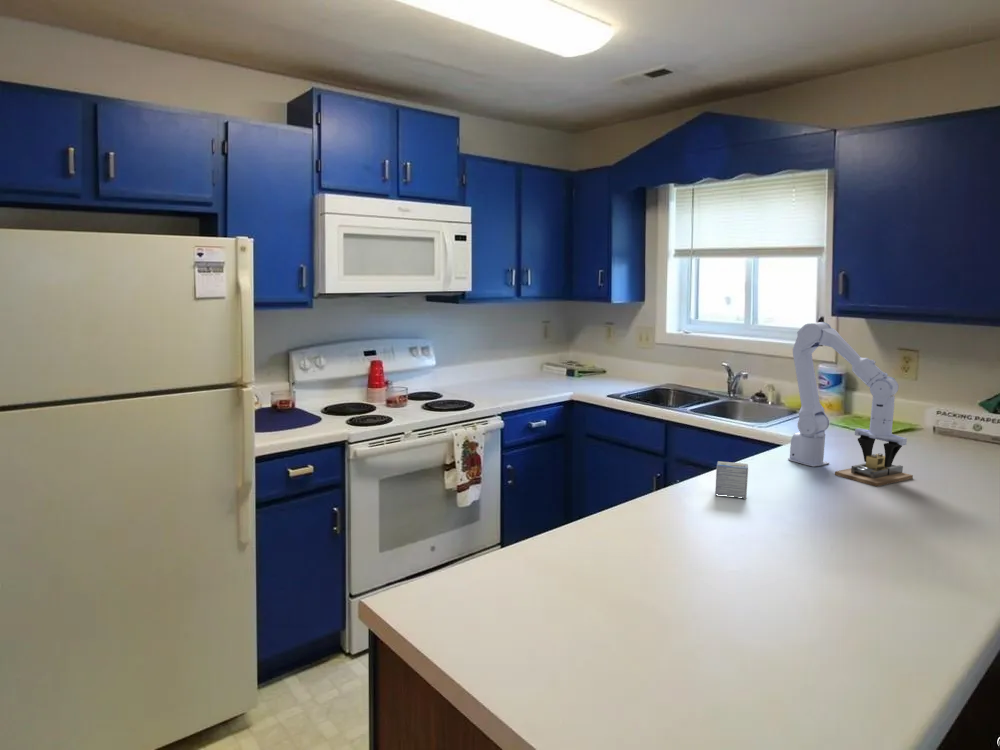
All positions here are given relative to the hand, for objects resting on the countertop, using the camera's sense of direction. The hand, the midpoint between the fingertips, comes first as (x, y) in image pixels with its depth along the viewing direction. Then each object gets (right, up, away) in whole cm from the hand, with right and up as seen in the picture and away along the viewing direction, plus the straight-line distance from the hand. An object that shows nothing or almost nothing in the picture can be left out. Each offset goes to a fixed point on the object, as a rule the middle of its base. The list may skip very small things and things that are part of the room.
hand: (877, 464), depth 201 cm
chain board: (-1, -4, 0) cm, 4 cm away
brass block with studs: (0, -3, 0) cm, 3 cm away
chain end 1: (-3, -3, -1) cm, 4 cm away
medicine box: (-50, -6, -19) cm, 54 cm away
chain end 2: (+3, -2, +2) cm, 4 cm away
